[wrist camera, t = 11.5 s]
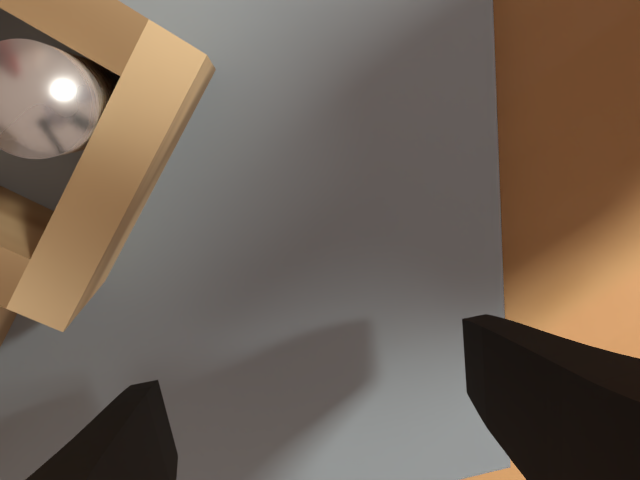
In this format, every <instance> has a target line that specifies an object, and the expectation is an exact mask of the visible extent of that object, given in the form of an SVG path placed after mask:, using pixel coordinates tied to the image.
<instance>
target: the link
mask: <svg viewBox="0 0 640 480" xmlns="http://www.w3.org/2000/svg"><path fill="white" fill-rule="evenodd" d="M0 8H1V9H3V10H5V11H7V12H8V13H10V14H12V15H14V16H15V17H17V18H19V19H21V20H22V21H24V22H26V23H28V24H29V25H31V26H33V27H35V28H36V29H38V30H40V31H42V32H43V33H45V34H47V35H49V36H50V37H52V38H54V39H56V40H57V41H59V42H61V43H63V44H64V45H66V46H68V47H70V48H71V49H73V50H75V51H77V52H78V53H80V54H82V55H84V56H85V57H87V58H89V59H91V60H92V61H94V62H96V63H98V64H99V65H101V66H103V67H105V68H106V69H108V70H110V71H112V72H113V73H115V74H117V75H119V76H120V79H119V81H118V83H117V85H116V87H115V89H114V91H113V93H112V95H111V97H110V99H109V101H108V103H107V105H106V107H105V109H104V111H103V113H102V115H101V117H100V119H99V121H98V123H97V125H96V127H95V129H94V131H93V133H92V135H91V137H90V139H89V141H88V143H87V146H86V148H85V150H84V152H83V154H82V156H81V158H80V160H79V162H78V164H77V166H76V168H75V170H74V172H73V174H72V176H71V178H70V180H69V182H68V184H67V186H66V188H65V190H64V192H63V194H62V196H61V198H60V200H59V202H58V204H57V206H56V208H55V210H54V211H52V210H50V209H48V208H46V207H44V206H42V205H40V204H38V203H36V202H34V201H32V200H29V199H27V198H25V197H23V196H21V195H19V194H17V193H15V192H13V191H11V190H9V189H7V188H4V187H2V186H0V347H1V345H2V343H3V341H4V339H5V337H6V335H7V333H8V331H9V329H10V327H11V325H12V323H13V321H14V319H15V317H16V315H17V313H18V314H20V315H23V316H25V317H27V318H30V319H32V320H35V321H37V322H39V323H42V324H44V325H47V326H49V327H51V328H54V329H56V330H59V331H61V332H64V331H65V329H66V328H67V327H68V326H69V325H70V323H71V322H72V321H73V320H74V318H75V317H76V316H77V315H78V314H79V312H80V311H81V310H82V309H83V307H84V306H85V305H86V304H87V303H88V301H89V300H90V299H91V298H92V297H93V295H94V294H95V293H96V292H97V290H98V289H99V288H100V287H101V286H102V284H103V283H104V282H105V280H106V278H107V277H108V275H109V273H110V271H111V269H112V267H113V265H114V263H115V261H116V259H117V257H118V256H119V254H120V252H121V250H122V248H123V246H124V244H125V242H126V240H127V238H128V236H129V235H130V233H131V231H132V229H133V227H134V225H135V223H136V221H137V219H138V217H139V215H140V214H141V212H142V210H143V208H144V206H145V204H146V202H147V200H148V198H149V196H150V194H151V193H152V191H153V189H154V187H155V185H156V183H157V181H158V179H159V177H160V175H161V173H162V172H163V170H164V168H165V166H166V164H167V162H168V160H169V158H170V156H171V154H172V152H173V151H174V149H175V147H176V145H177V143H178V141H179V139H180V137H181V135H182V133H183V131H184V130H185V128H186V126H187V124H188V122H189V120H190V118H191V116H192V114H193V112H194V110H195V109H196V107H197V105H198V103H199V101H200V99H201V97H202V95H203V93H204V91H205V89H206V88H207V86H208V84H209V82H210V80H211V78H212V76H213V74H214V72H215V70H216V69H215V67H214V66H213V64H212V62H211V61H210V59H209V57H208V56H207V54H205V53H203V52H202V51H200V50H198V49H197V48H195V47H193V46H192V45H190V44H189V43H187V42H185V41H184V40H182V39H180V38H179V37H177V36H176V35H174V34H172V33H171V32H169V31H167V30H166V29H164V28H162V27H161V26H159V25H158V24H156V23H154V22H153V21H151V20H149V19H148V18H146V17H145V16H143V15H141V14H140V13H138V12H136V11H135V10H133V9H131V8H130V7H128V6H127V5H125V4H123V3H122V2H120V1H118V0H0Z"/></svg>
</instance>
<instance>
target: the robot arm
mask: <svg viewBox="0 0 640 480" xmlns="http://www.w3.org/2000/svg"><path fill="white" fill-rule="evenodd" d="M462 326H463V342H464V358H465V374H466V390H467V394H468V396H469V398H470V400H471V402H472V403H473V405H474V407H475V409H476V411H477V412H478V414H479V416H480V417H481V419H482V421H483V422H484V424H485V426H486V427H487V429H488V430H489V432H490V433H491V434H492V436H493V437H494V438H495V440H496V441H497V442H498V443H499V445H500V446H501V447H502V449H503V450H504V451H505V453H506V454H507V455H508V456H509V458H510V459H511V460H512V462H513V463H514V464H515V465H516V467H517V468H518V469H519V471H520V472H521V473H522V474H523V476H524V477H525V478H526V480H640V359H639V358H634V357H630V356H626V355H622V354H618V353H614V352H610V351H606V350H603V349H599V348H596V347H592V346H588V345H585V344H582V343H578V342H575V341H572V340H569V339H565V338H562V337H559V336H556V335H553V334H550V333H547V332H544V331H541V330H538V329H535V328H532V327H529V326H526V325H523V324H520V323H517V322H514V321H511V320H507V319H504V318H501V317H497V316H493V315H488V314H484V315H479V316H474V317H469V318H464V319H462ZM177 464H178V453H177V450H176V446H175V442H174V438H173V434H172V431H171V427H170V423H169V419H168V415H167V412H166V408H165V404H164V400H163V396H162V393H161V389H160V385H159V381H158V380H154V381H149V382H144V383H139V384H134V385H130V386H129V387H128V388H126V389H125V390H124V391H123V392H122V393H120V394H119V395H118V396H117V397H116V398H115V399H114V400H113V401H112V402H111V403H110V404H109V405H107V406H106V407H105V408H104V409H103V410H102V411H101V412H100V413H99V414H98V415H97V416H96V417H95V418H94V419H93V420H92V421H91V422H90V423H89V424H87V425H86V426H85V427H84V428H83V429H82V430H81V431H80V432H79V433H78V434H77V435H76V436H75V437H74V438H73V439H72V440H70V441H69V442H68V443H67V444H66V445H65V446H64V447H62V448H61V449H60V450H59V451H58V452H57V453H56V454H54V455H53V456H52V457H51V458H50V459H49V460H48V461H46V462H45V463H44V464H43V465H42V466H41V467H40V468H38V469H37V470H36V471H35V472H34V473H33V474H31V475H30V476H29V477H28V478H27V479H25V480H176V478H177Z"/></svg>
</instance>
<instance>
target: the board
mask: <svg viewBox="0 0 640 480" xmlns="http://www.w3.org/2000/svg"><path fill="white" fill-rule="evenodd" d="M118 1H120V2H122V3H123V4H125V5H127V6H128V7H130V8H131V9H133V10H135V11H136V12H138V13H140V14H141V15H143V16H145V17H146V18H148V19H149V20H151V21H153V22H154V23H156V24H158V25H159V26H161V27H162V28H164V29H166V30H167V31H169V32H171V33H172V34H174V35H176V36H177V37H179V38H180V39H182V40H184V41H185V42H187V43H189V44H190V45H192V46H193V47H195V48H197V49H198V50H200V51H202V52H203V53H205V54H207V56H208V57H209V59H210V61H211V62H212V64H213V66H214V67H215V69H216V70H215V72H214V74H213V76H212V78H211V80H210V82H209V84H208V86H207V88H206V89H205V91H204V93H203V95H202V97H201V99H200V101H199V103H198V105H197V107H196V109H195V110H194V112H193V114H192V116H191V118H190V120H189V122H188V124H187V126H186V128H185V130H184V131H183V133H182V135H181V137H180V139H179V141H178V143H177V145H176V147H175V149H174V151H173V152H172V154H171V156H170V158H169V160H168V162H167V164H166V166H165V168H164V170H163V172H162V173H161V175H160V177H159V179H158V181H157V183H156V185H155V187H154V189H153V191H152V193H151V194H150V196H149V198H148V200H147V202H146V204H145V206H144V208H143V210H142V212H141V214H140V215H139V217H138V219H137V221H136V223H135V225H134V227H133V229H132V231H131V233H130V235H129V236H128V238H127V240H126V242H125V244H124V246H123V248H122V250H121V252H120V254H119V256H118V257H117V259H116V261H115V263H114V265H113V267H112V269H111V271H110V273H109V275H108V277H107V278H106V280H105V282H104V283H103V284H102V286H101V287H100V288H99V289H98V290H97V292H96V293H95V294H94V295H93V297H92V298H91V299H90V300H89V301H88V303H87V304H86V305H85V306H84V307H83V309H82V310H81V311H80V312H79V314H78V315H77V316H76V317H75V318H74V320H73V321H72V322H71V323H70V325H69V326H68V327H67V328H66V329H65V331H64V332H61V331H59V330H56V329H54V328H51V327H49V326H47V325H44V324H42V323H39V322H37V321H35V320H32V319H30V318H27V317H25V316H23V315H20V314H18V313H17V315H16V317H15V319H14V321H13V323H12V325H11V327H10V329H9V331H8V333H7V335H6V337H5V339H4V341H3V343H2V345H1V347H0V480H25V479H27V478H28V477H29V476H30V475H31V474H33V473H34V472H35V471H36V470H37V469H38V468H40V467H41V466H42V465H43V464H44V463H45V462H46V461H48V460H49V459H50V458H51V457H52V456H53V455H54V454H56V453H57V452H58V451H59V450H60V449H61V448H62V447H64V446H65V445H66V444H67V443H68V442H69V441H70V440H72V439H73V438H74V437H75V436H76V435H77V434H78V433H79V432H80V431H81V430H82V429H83V428H84V427H85V426H86V425H87V424H89V423H90V422H91V421H92V420H93V419H94V418H95V417H96V416H97V415H98V414H99V413H100V412H101V411H102V410H103V409H104V408H105V407H106V406H107V405H109V404H110V403H111V402H112V401H113V400H114V399H115V398H116V397H117V396H118V395H119V394H120V393H122V392H123V391H124V390H125V389H126V388H128V387H129V386H130V385H134V384H139V383H144V382H149V381H154V380H158V381H159V385H160V389H161V393H162V396H163V400H164V404H165V408H166V412H167V415H168V419H169V423H170V427H171V431H172V434H173V438H174V442H175V446H176V450H177V453H178V464H177V478H176V480H460V479H464V478H468V477H472V476H476V475H480V474H484V473H489V472H493V471H497V470H501V469H505V468H509V467H510V458H509V456H508V455H507V454H506V453H505V451H504V450H503V449H502V447H501V446H500V445H499V443H498V442H497V441H496V440H495V438H494V437H493V436H492V434H491V433H490V432H489V430H488V429H487V427H486V426H485V424H484V422H483V421H482V419H481V417H480V416H479V414H478V412H477V411H476V409H475V407H474V405H473V403H472V402H471V400H470V398H469V396H468V394H467V390H466V374H465V358H464V342H463V326H462V319H464V318H469V317H474V316H479V315H484V314H488V315H493V316H497V317H501V318H504V319H505V310H504V283H503V256H502V230H501V203H500V176H499V149H498V122H497V96H496V69H495V42H494V15H493V0H118ZM8 39H29V40H34V41H38V42H41V43H44V44H47V45H50V46H52V47H55V48H58V49H61V50H64V51H67V52H69V53H72V54H75V55H78V56H81V57H84V58H86V59H89V58H87V57H85V56H84V55H82V54H80V53H78V52H77V51H75V50H73V49H71V48H70V47H68V46H66V45H64V44H63V43H61V42H59V41H57V40H56V39H54V38H52V37H50V36H49V35H47V34H45V33H43V32H42V31H40V30H38V29H36V28H35V27H33V26H31V25H29V24H28V23H26V22H24V21H22V20H21V19H19V18H17V17H15V16H14V15H12V14H10V13H8V12H7V11H5V10H3V9H1V8H0V41H3V40H8ZM89 60H91V59H89ZM83 152H84V150H82V151H77V152H73V153H69V154H64V155H60V156H55V157H51V158H46V159H27V158H21V157H18V156H14V155H12V154H9V153H7V152H5V151H3V150H1V149H0V186H2V187H4V188H7V189H9V190H11V191H13V192H15V193H17V194H19V195H21V196H23V197H25V198H27V199H29V200H32V201H34V202H36V203H38V204H40V205H42V206H44V207H46V208H48V209H50V210H52V211H54V210H55V208H56V206H57V204H58V202H59V200H60V198H61V196H62V194H63V192H64V190H65V188H66V186H67V184H68V182H69V180H70V178H71V176H72V174H73V172H74V170H75V168H76V166H77V164H78V162H79V160H80V158H81V156H82V154H83Z"/></svg>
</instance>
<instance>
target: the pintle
mask: <svg viewBox="0 0 640 480" xmlns="http://www.w3.org/2000/svg"><path fill="white" fill-rule="evenodd" d="M119 79H120V76H119V75H117V74H115V73H113V72H112V71H110V70H108V69H106V68H105V67H103V66H101V65H99V64H98V63H96V62H94V61H92V60H89V59H86V58H84V57H81V56H78V55H75V54H72V53H69V52H67V51H64V50H61V49H58V48H55V47H52V46H50V45H47V44H44V43H41V42H38V41H34V40H29V39H8V40H3V41H0V149H1V150H3V151H5V152H7V153H9V154H12V155H14V156H18V157H21V158H27V159H46V158H51V157H55V156H60V155H64V154H69V153H73V152H77V151H82V150H85V148H86V146H87V143H88V141H89V139H90V137H91V135H92V133H93V131H94V129H95V127H96V125H97V123H98V121H99V119H100V117H101V115H102V113H103V111H104V109H105V107H106V105H107V103H108V101H109V99H110V97H111V95H112V93H113V91H114V89H115V87H116V85H117V83H118V81H119Z"/></svg>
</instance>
